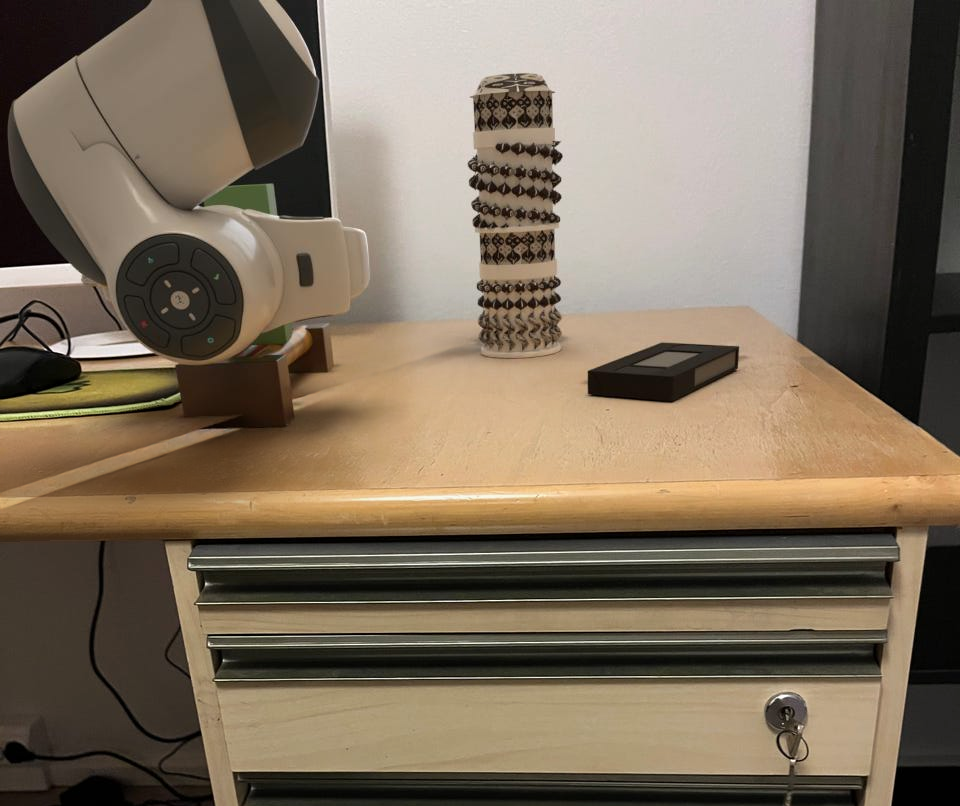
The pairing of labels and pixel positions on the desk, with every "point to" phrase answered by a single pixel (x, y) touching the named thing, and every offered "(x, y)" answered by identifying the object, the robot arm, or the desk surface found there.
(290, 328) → the bar
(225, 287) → the robot arm
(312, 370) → the rack
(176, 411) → the desk surface
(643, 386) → the vhs tape
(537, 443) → the desk surface
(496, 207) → the decorative candle
